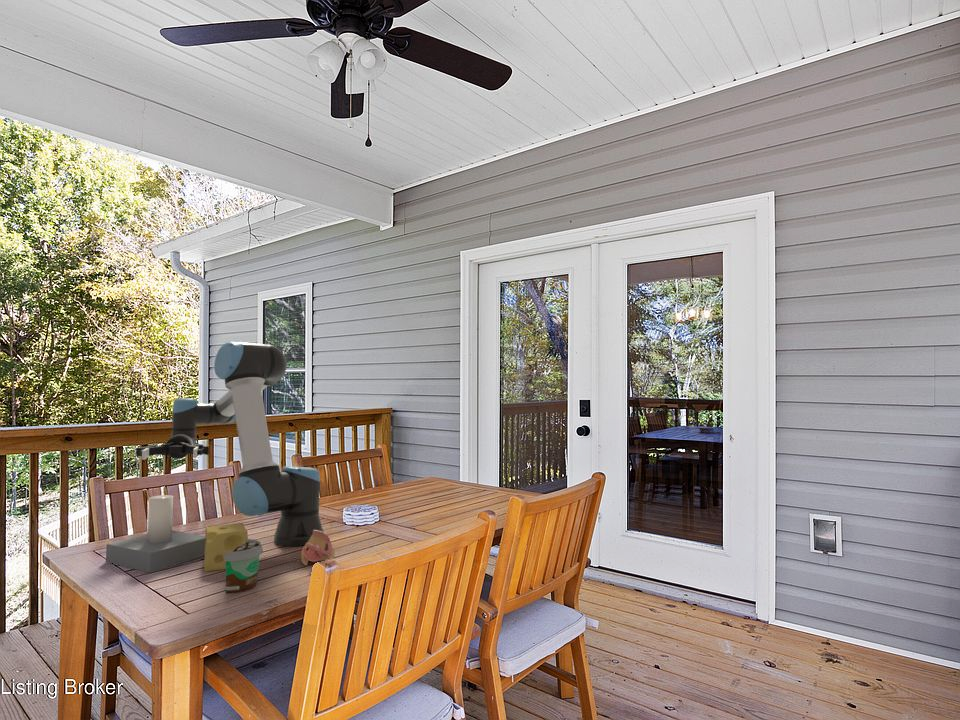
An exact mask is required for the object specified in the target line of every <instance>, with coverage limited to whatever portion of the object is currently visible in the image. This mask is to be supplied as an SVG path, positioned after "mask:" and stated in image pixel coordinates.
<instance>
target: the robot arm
mask: <svg viewBox="0 0 960 720" xmlns="http://www.w3.org/2000/svg"><path fill="white" fill-rule="evenodd" d="M214 358H215V359H214V366H213V367H214V368H213V369H214V373H215V375H216V376H217V378H218V379H220V380H224V385H225V388H226V389H228V391H227V392H226V393H225V394H223V396H222V397H220V398H219V399H218V400H217V401H216V402H215V403H198V400H197V398H187V397H185V398H183V397H181V398H176V399H174V400H173V405H172V423H171V425H172V427H171V438H169V439H168V440H167V441H166V443H163V444H160V445H159V444H152V445H147V446H141V447H136V448H135V449H136V450H135V457H141V461H142V460H144V461H145V460H146V459H148V458H149V457H151V456H158V455H161V456H168V457H169V458H171V459H175V460H180V459H183V458H185V457H187V456H189V455H192V458H193V459H197V458H198V456H202V455H205V456H206V455H207V456H208V455H210V446H208V445H204V444H200V443H197V438H196V433H197V426H198V425H199V426H200V425H220V424H221V425H227V424H232V423H234V422H236V423H235V424H236V430H237V437H238V445H239V449H240V456H241V463H242V468H241V469H240V470H239V471H238V478H237V479H235V481H233V485H232V487H233V488H232V490H231V493H232V494H231V495H232V499H233V503H234V505H235V507H236V509H237V510H238V511H239V512H240V513H241V514H242V515H244V516H247V517H254V516H257V517H259V516H263V515H268V514H272V513H273V514H274V513H276V512H277V513H278V512H280V518H279V520H278V522H277V527H276V531H275V532H274V535H273V536H274V537H273V542H274V543H275V544H276V545H278V546H283V547H284V546H285V547H303V546H302V545H304V546H305V544H306V543H307V542H309V541H308V540H309V539H310V538H311V536H312V534H313V530H319V531H321V532H323V533H325V531H324V528H323V525H322V521H321V518H320V496H321V495H320V492H321V491H320V489H321V484H322V483H321V472H320V471H319V469H317V468H314V467H309V466H308V467H305V466H295V465H294V466H293V465H289V466H288V465H285V466H282V469H281V470H280V465H279V464H278V463H276V462H275V461H274V459H273V453H272V448H271V441H270V436H269V429H268V424H267V417H266V411H265V405H264V397H263V391H264V390H265V389H266V388H268V387H272V386H274V385H276V384H277V383H278V382H279V381H280V380H281V379H282V378H283V377H284V375H285V373H286V370H287V368H288V367H287V366H288V364H287V359H286V356H285V354H284V353H283V351H282V350H280V349H279V348H278V347H277V346H275V345H272V344H266V343H255V342H253V343H251V342H242V341H237V342H236V341H229V342H228V341H227V342H225V343H224V344H222V346H220V348H219V349H218V350H217V354H216V355H215V357H214Z"/></svg>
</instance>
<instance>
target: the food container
mask: <svg viewBox="0 0 960 720" xmlns="http://www.w3.org/2000/svg"><path fill="white" fill-rule="evenodd" d="M263 553H264V551H263V545H262V544H261V541H259V540H257V539H252V538H251V539H250V538H248V539H246V543H245V544H244V545H242V546H239V547H237V548H236V549H235V550H234V551H232V552H226V555H225V559H224V561H226V569H225V594H226V595H227V594H229V595H231V594H238V593H245V592H247V591H251V590H253V589H254V588H256V586H257V582H258V574H259V566H260V565H259V564H260V556H261V555H262V554H263Z"/></svg>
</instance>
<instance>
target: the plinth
mask: <svg viewBox="0 0 960 720" xmlns="http://www.w3.org/2000/svg"><path fill="white" fill-rule="evenodd" d="M105 551H106V552H105V563H106V562H109V563H108V564H110V563H113V564H112V565H115V564H117V565H116V566H119V565H121V566H120V567H123V566H125V567H124V568H128V567H129V569H133V570H136V571H141V572H146V573H148V574H149V573H153V572H157V571H160V570H163V569H166V568H170V567H173V566H176V565H179V564H182V562H183V563H185V562H189V561H192V560H195V559H198V558H201V557H205V535H200V534H195V533H194V534H193V533H191V532H190V533H189V532H184V531H183V532H182V531H179V530H173V529H172V539H171V540H170V541H167V542H163V543H148V542H147V533H146V534H142V535H138V536H134V537H130V538H125V539H121V540H117V541H113V542H110V543H106V550H105ZM175 564H176V565H175ZM172 565H173V566H172ZM169 566H170V567H169Z"/></svg>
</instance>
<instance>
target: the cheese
mask: <svg viewBox="0 0 960 720" xmlns="http://www.w3.org/2000/svg"><path fill="white" fill-rule="evenodd" d="M204 536H205V556H204V562H203V563H204V566H203V569H204V572H214V571H220V570H221V571H222V570H226V561H224V559H225V555H226V552H232V551H234V550H235V549H236V548H237V547H239V546H242V545H244V544H245V543H246V539H249V534H248V530H247V528H246V527H245V525H244V523H243V522H242V523H229V524H219V525H218V524H217V525H206V526H205V534H204Z"/></svg>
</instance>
